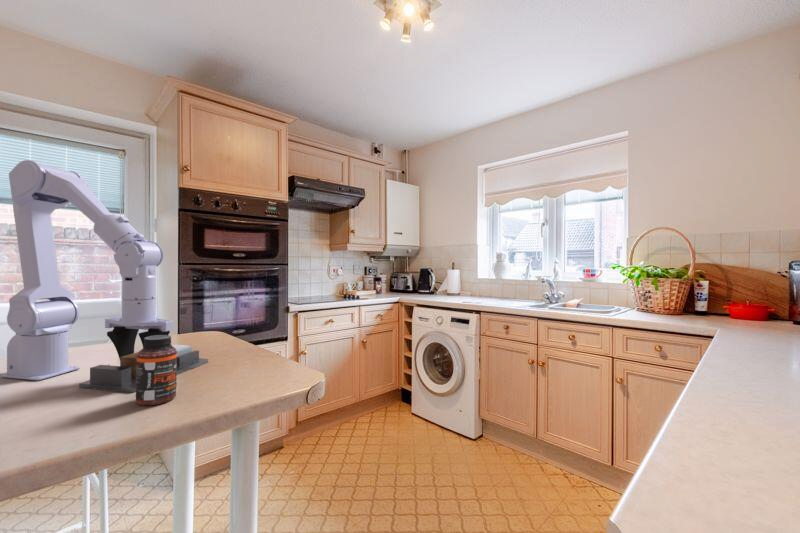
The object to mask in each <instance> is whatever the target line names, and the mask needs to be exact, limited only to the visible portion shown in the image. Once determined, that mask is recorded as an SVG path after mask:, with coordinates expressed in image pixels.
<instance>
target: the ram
mask: <svg viewBox="0 0 800 533" xmlns="http://www.w3.org/2000/svg"><path fill="white" fill-rule="evenodd" d="M171 345H172V346H173V347H174V348H176V350H177V357H178V356H181V355H184V354H187V353H189V352H192V351H193V346H190V345H188V344H187V345H186V344H171Z"/></svg>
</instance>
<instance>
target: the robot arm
mask: <svg viewBox="0 0 800 533" xmlns="http://www.w3.org/2000/svg"><path fill="white" fill-rule="evenodd" d="M8 180H9V186H10V187H9V188H10V193H11V199H12V209H13V218H14V223H15V232H16V237H17V238H16V239H17V245H18V252H19V253H18V254H19V262H20V268H21V269H20V270H21V275H22V276H21V277H22V283H23V289H21V290H19V292H17V293H16V294H14V295H12V296H11V297H9V299H8V302H9V309H8V312H7V315H6V321H7V325H8V326H9V328H10V330H12V331H13V332H14V333H15V335H13V336H12V337H11V338H10V340H9V341H8V343H7V346H6V373H4V374H1V378H6V379H7V378H9V379H19V380H29V381H40V380H44V379H48V378H51V377H56V376H58V375H62V374H66V373H69V372H73V371H77V370H80V366H76V365H69V330H72V329H73V328H72V327H73V325H74V324H75V323H76V322H77V321H78V319H79V317H80V316H79V315H80V309H79V307H78V306H79V305H78V304H77V303H76V301H75V300H74V294H73V292H72V291H70V290H69V289H67V288H66V287H64V286H63V285H61V281H60V273H59V267H58V259H57V258H58V257H57V251H56V243H55V236H54V228H53V222H52V213H53V212H54V211H55V210H59V209H61V208H63V207H65V206H66V205H68V204H69V203H70V204H71V205H73V207H75V208H76V209H77V210H78V211H79V212H81V213H82V214H83V215H84V216H85V217H86V218H87V219H89V220H90V221H91V222H92V223H94V225H93V232H94V234H96V235H97V236H98V237H99V238H100V239H101V240H102V241H103V242H104V243H105V244H106V245H107V246H108V247H109V248H110V249H111V250H112V251H113V252H114V254H113V259H114V261H115V264H116V265H117V267H118V269H119V275H120V277H121V317H111V318H105V319H104V328H105V329H112V328H113V329H112V330H110V331H107V332H106V335H107V338H109V339H110V341H111V342H112V343H113V346H114V347H115V350H116V352H117V355H118V359H119V360H120V357H122V356H126V355H129V354H133V353H135V345H136V339H137V336H139V339H140V341H141V345H142V348H143V347H144V338H145V337H148V336H154V335H169V334H170V333H171V331H173V330H174V320H169V319H168V320H167V319H163V318H159V316H157V267H158V266H160V265H161V263H162V262H163V259H164V252H163V249H162V248H161V246H160V244H159V243H158V242H156V241H153V240H147V239H146V238H145V235H143V233H139V232H138V231H137V230H136V229H135V227H133V226H132V225H131V224H130V223H129V222H131V221H130V219H129V218H128V217H126V216H122V215H120V214H115V213H114V214H113V213H111V211H109V210H108V208H107V207H106V206H105V205H104V204H103V203H102V202H101V201H100V199H98V197H97V195H95V194H94V193H93V191H92V190H91V189H90V187H89V182H88V181H87V180H86V179H84V178H83V176H81V174H79V172H76V171H74V170H73V171H72V170H66V169H62V168H59V167H54V166H52V165H51V166H50V165H48V164H47V165H46V164H42V163H40V162H37V161H34V160H30V159H24V160H22V161H20V162H18V163H17V164H16V165H15V167H14V168H12V169H11V170H10V172H8ZM38 300H44V301H38ZM139 330H147V331H143V332H139Z"/></svg>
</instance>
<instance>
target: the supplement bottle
mask: <svg viewBox="0 0 800 533" xmlns="http://www.w3.org/2000/svg"><path fill="white" fill-rule="evenodd" d="M172 345H173V344H172V336H171V335H154V336H148V337H145V338H144V347H143V346H142V349H140V350H138V351H137V352H138V354H137V362H136V392H135V402H136V403H137V404H138V405H140V406H156V405H157V406H158V405H161V404H165V403H168V402H170V401H171V400H173V399H174V398H175V397H176V396H177V380H178V379H177V376H178V375H177V350H176V348H174V347H173V346H172Z"/></svg>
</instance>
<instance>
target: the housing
mask: <svg viewBox="0 0 800 533" xmlns="http://www.w3.org/2000/svg"><path fill="white" fill-rule="evenodd" d="M138 352H139V351H137V352H134V353H133V354H129V355H126V356H122V357H120V359H119V366H122V367H131V378H136V362H137V354H138Z"/></svg>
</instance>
